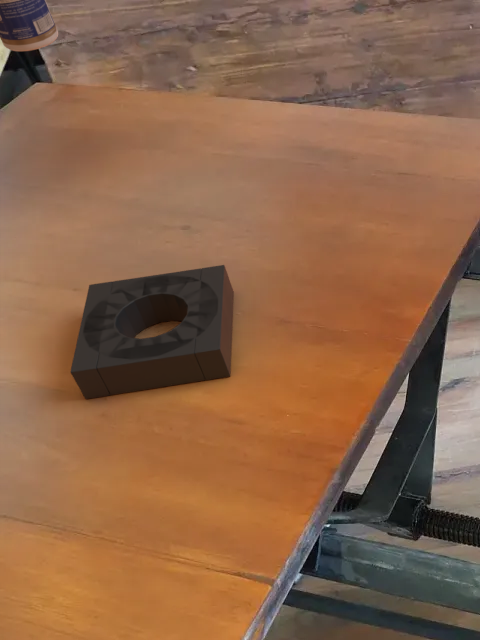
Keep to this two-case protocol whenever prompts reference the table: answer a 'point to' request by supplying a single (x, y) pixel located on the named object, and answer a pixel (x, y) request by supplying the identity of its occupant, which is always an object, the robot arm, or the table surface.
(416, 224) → the table surface
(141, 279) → the socket plate
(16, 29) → the pill bottle
